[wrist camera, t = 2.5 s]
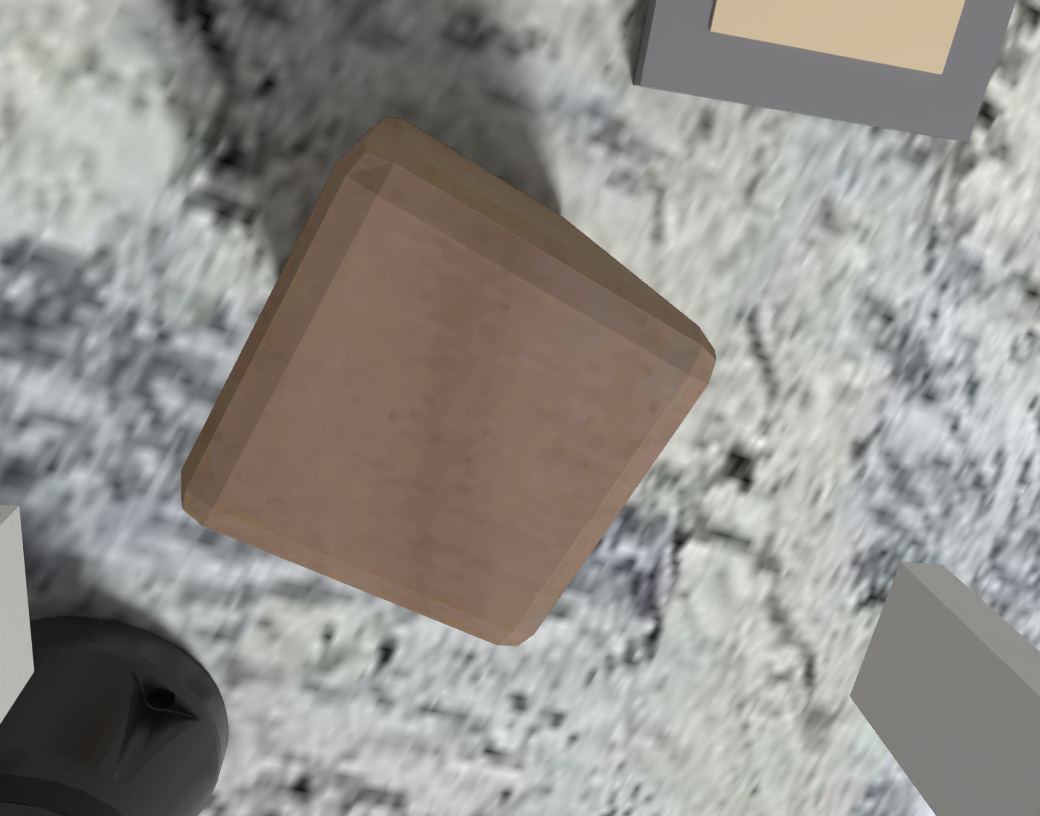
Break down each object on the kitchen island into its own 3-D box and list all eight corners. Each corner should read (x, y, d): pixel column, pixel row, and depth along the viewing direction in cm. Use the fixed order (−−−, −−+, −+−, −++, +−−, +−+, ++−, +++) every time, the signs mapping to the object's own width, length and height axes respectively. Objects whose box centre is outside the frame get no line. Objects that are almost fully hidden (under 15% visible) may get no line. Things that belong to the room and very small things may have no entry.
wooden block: (281, 304, 36) (151, 525, 18) (383, 105, 33) (354, 122, 15) (469, 399, 39) (525, 673, 21) (575, 224, 36) (747, 358, 18)
